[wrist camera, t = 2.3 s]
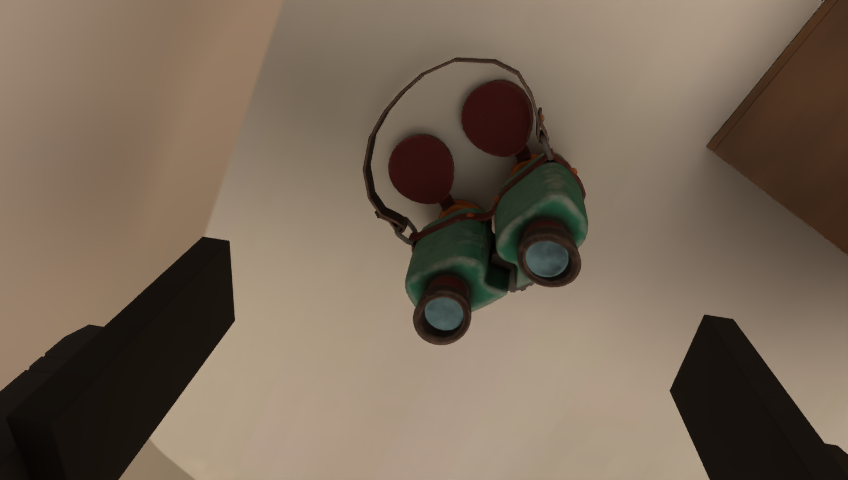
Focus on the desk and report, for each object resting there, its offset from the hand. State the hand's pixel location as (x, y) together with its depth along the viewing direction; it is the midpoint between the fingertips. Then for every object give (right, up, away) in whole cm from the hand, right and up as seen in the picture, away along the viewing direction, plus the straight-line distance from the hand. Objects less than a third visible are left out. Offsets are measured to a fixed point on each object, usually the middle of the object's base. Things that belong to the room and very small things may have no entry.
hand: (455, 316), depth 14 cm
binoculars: (+1, +7, +12) cm, 14 cm away
